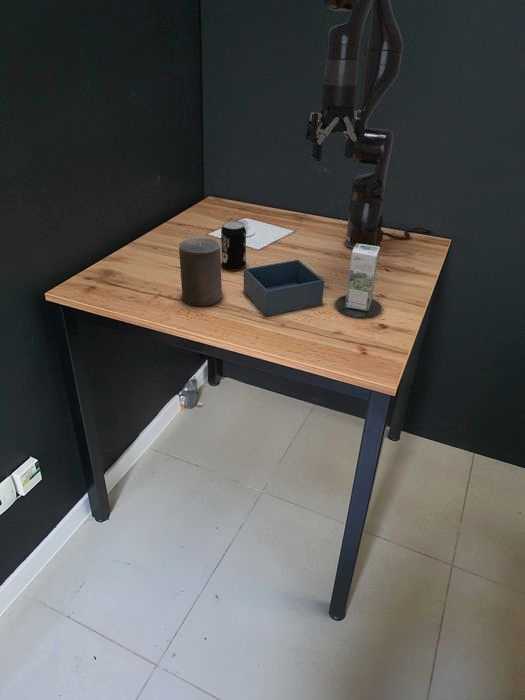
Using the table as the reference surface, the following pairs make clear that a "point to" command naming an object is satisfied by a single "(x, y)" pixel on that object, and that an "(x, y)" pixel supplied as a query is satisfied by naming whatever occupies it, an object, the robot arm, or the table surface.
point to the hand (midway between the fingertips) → (332, 159)
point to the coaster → (355, 313)
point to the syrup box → (362, 276)
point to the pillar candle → (200, 271)
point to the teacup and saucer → (259, 233)
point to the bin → (283, 287)
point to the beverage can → (233, 245)
